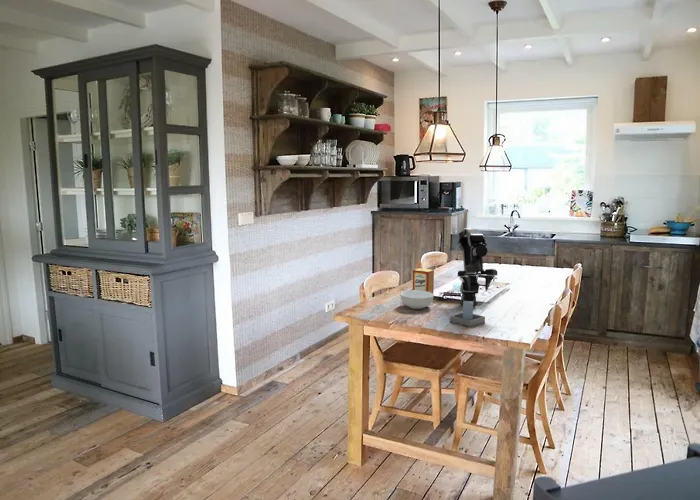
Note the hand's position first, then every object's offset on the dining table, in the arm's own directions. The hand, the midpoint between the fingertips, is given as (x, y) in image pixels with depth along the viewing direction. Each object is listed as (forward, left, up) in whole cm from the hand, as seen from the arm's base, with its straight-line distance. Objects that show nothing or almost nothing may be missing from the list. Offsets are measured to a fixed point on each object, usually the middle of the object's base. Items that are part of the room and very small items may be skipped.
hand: (477, 290), depth 258 cm
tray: (+6, -15, -12) cm, 20 cm away
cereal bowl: (-28, -12, -12) cm, 33 cm away
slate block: (+6, -15, -11) cm, 19 cm away
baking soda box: (-39, +5, -12) cm, 41 cm away
